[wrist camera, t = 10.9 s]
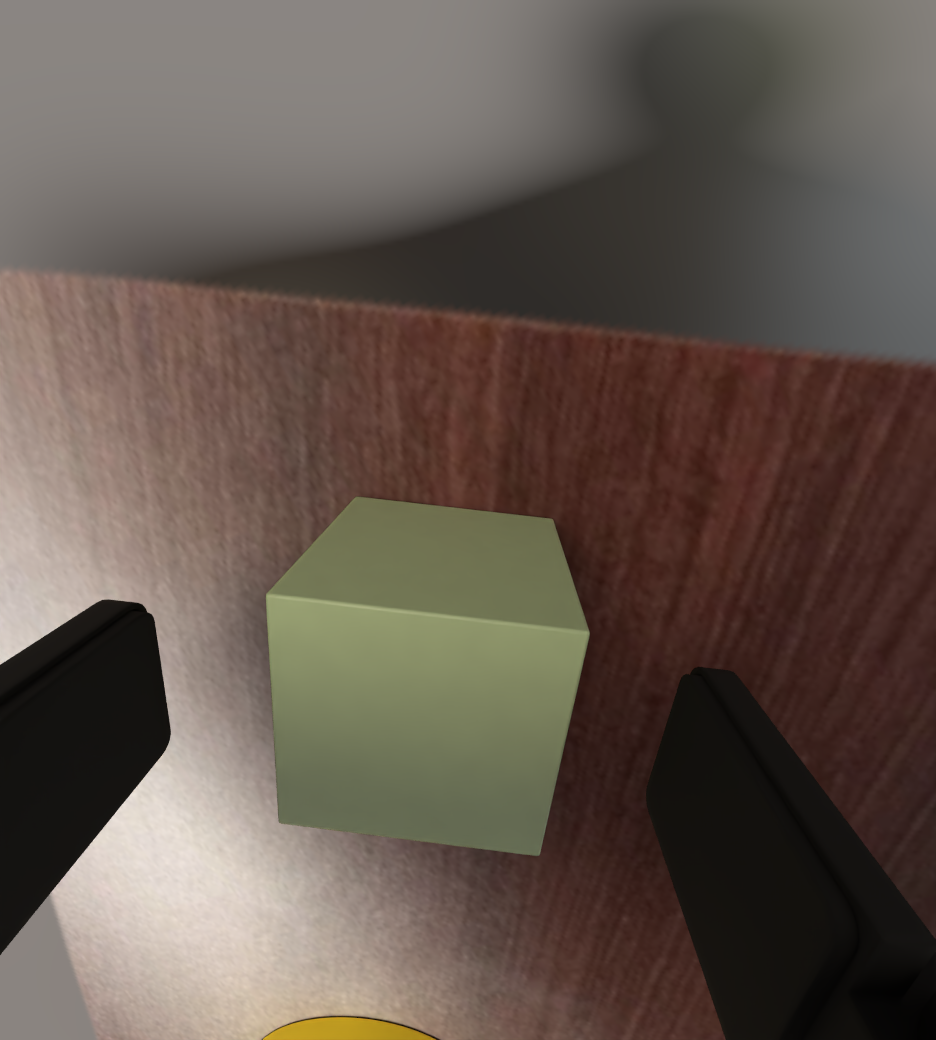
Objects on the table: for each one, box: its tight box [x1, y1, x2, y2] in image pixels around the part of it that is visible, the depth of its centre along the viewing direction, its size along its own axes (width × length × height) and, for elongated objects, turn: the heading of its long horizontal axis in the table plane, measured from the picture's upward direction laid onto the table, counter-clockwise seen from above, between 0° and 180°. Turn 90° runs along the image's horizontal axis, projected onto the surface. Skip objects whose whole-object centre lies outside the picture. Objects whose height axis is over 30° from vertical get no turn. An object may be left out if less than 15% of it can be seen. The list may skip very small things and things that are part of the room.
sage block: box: [266, 497, 590, 856], centre depth 10 cm, size 5×5×5 cm
